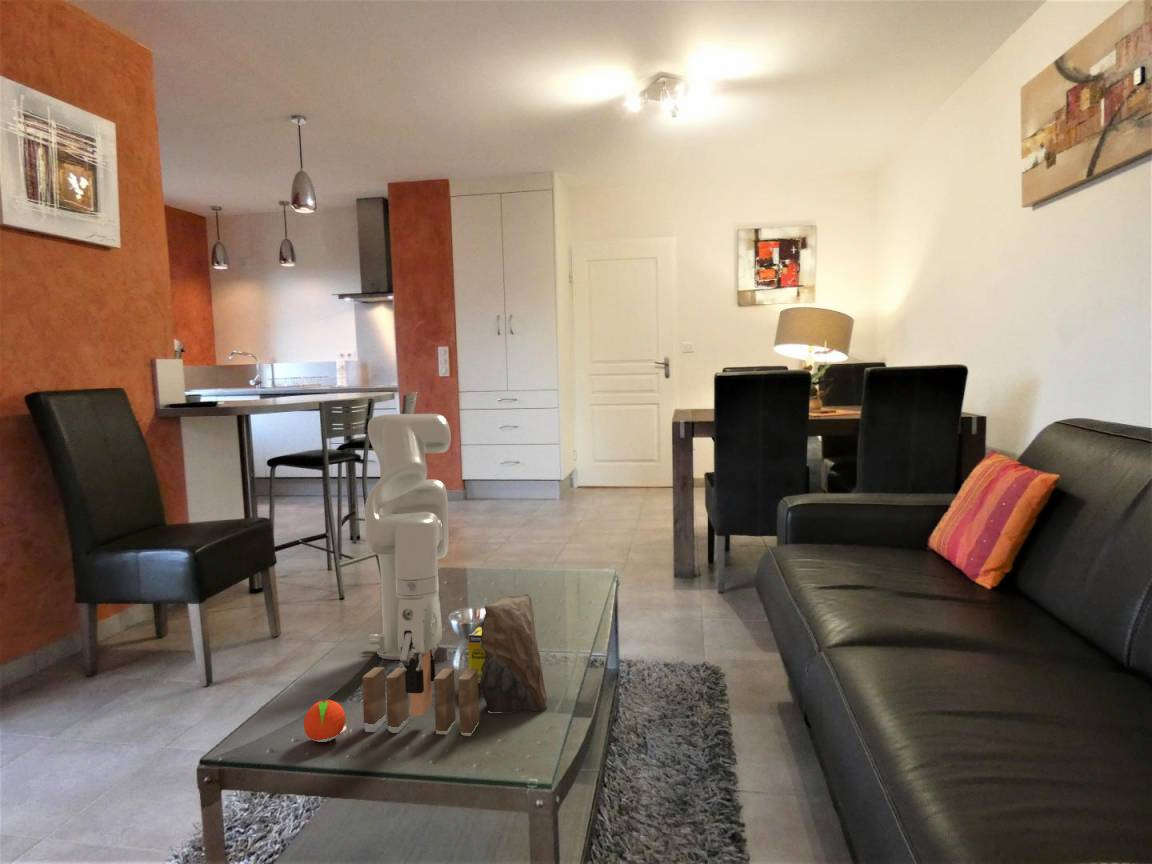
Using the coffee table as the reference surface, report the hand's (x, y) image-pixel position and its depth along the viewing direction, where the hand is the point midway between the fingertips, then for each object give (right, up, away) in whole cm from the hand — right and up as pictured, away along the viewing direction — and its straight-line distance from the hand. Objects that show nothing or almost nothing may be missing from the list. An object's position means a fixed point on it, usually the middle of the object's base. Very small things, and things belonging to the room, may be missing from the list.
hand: (420, 685), depth 120 cm
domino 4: (+5, -8, 0) cm, 9 cm away
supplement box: (+9, -8, +22) cm, 25 cm away
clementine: (-16, -9, -4) cm, 18 cm away
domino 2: (-4, -8, +1) cm, 9 cm away
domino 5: (+9, -8, -1) cm, 12 cm away
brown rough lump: (+17, -8, +10) cm, 21 cm away
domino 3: (0, -4, 0) cm, 4 cm away
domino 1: (-9, -8, +1) cm, 12 cm away
